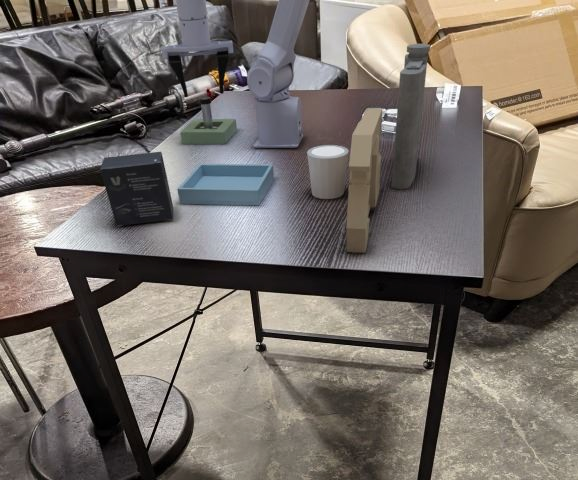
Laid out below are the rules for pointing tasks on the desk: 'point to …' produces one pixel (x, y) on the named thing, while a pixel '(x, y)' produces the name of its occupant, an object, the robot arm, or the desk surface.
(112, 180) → the box
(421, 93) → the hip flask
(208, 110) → the silver black capped cylinder
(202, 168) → the tray
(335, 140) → the desk surface
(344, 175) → the white cup
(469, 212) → the desk surface
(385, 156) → the desk surface
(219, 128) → the green square holder
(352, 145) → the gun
